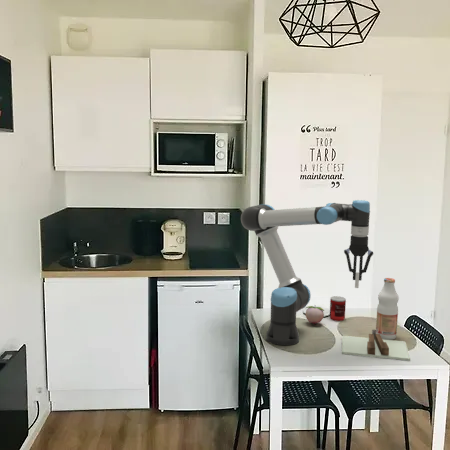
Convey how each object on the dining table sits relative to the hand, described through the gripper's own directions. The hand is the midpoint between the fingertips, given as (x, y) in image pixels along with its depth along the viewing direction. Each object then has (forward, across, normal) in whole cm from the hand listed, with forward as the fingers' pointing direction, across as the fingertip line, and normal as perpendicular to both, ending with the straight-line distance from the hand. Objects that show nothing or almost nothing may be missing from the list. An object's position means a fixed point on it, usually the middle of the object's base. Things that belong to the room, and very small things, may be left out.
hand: (356, 287), depth 232 cm
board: (+26, +9, -4) cm, 28 cm away
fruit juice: (+27, +15, +13) cm, 33 cm away
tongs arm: (+25, +12, -5) cm, 28 cm away
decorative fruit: (+27, -19, +21) cm, 39 cm away
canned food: (+27, -8, +33) cm, 43 cm away
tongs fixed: (+25, +8, -4) cm, 27 cm away
